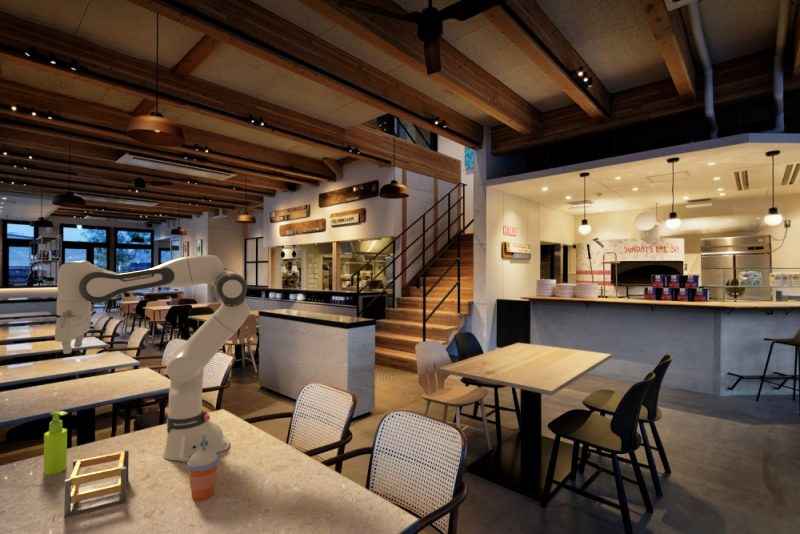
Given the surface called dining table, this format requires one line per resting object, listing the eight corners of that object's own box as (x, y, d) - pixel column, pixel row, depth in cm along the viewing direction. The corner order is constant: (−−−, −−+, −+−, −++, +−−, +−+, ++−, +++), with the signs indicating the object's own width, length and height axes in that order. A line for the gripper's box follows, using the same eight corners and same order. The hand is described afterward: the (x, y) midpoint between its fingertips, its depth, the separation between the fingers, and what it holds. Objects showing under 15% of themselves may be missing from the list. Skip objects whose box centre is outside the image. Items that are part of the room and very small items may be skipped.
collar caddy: (128, 479, 129) (128, 449, 129) (125, 502, 117) (126, 468, 117) (73, 492, 121) (73, 459, 121) (64, 517, 110) (64, 481, 110)
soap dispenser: (55, 476, 130) (56, 415, 130) (38, 473, 132) (39, 413, 132) (73, 467, 136) (74, 409, 136) (57, 465, 138) (58, 407, 137)
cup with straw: (185, 506, 115) (186, 445, 115) (186, 490, 124) (187, 433, 123) (220, 498, 120) (221, 439, 120) (218, 483, 128) (219, 427, 128)
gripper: (74, 312, 124) (73, 356, 124) (95, 305, 143) (94, 343, 143) (48, 313, 122) (47, 357, 122) (73, 305, 140) (72, 344, 141)
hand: (72, 350), depth 132 cm, fingers open, 8 cm apart
